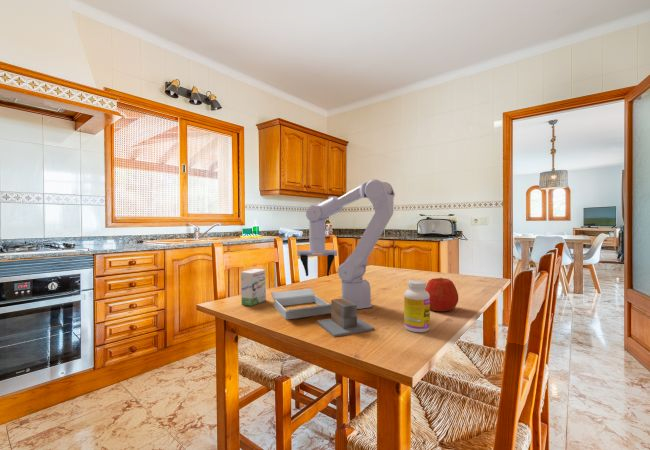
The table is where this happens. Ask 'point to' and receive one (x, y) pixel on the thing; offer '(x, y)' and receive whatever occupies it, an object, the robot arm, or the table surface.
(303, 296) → the grey shallow open piece
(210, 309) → the table surface
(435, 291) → the apple
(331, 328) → the mat
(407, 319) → the supplement bottle
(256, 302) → the ink box
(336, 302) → the block
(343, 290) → the robot arm
